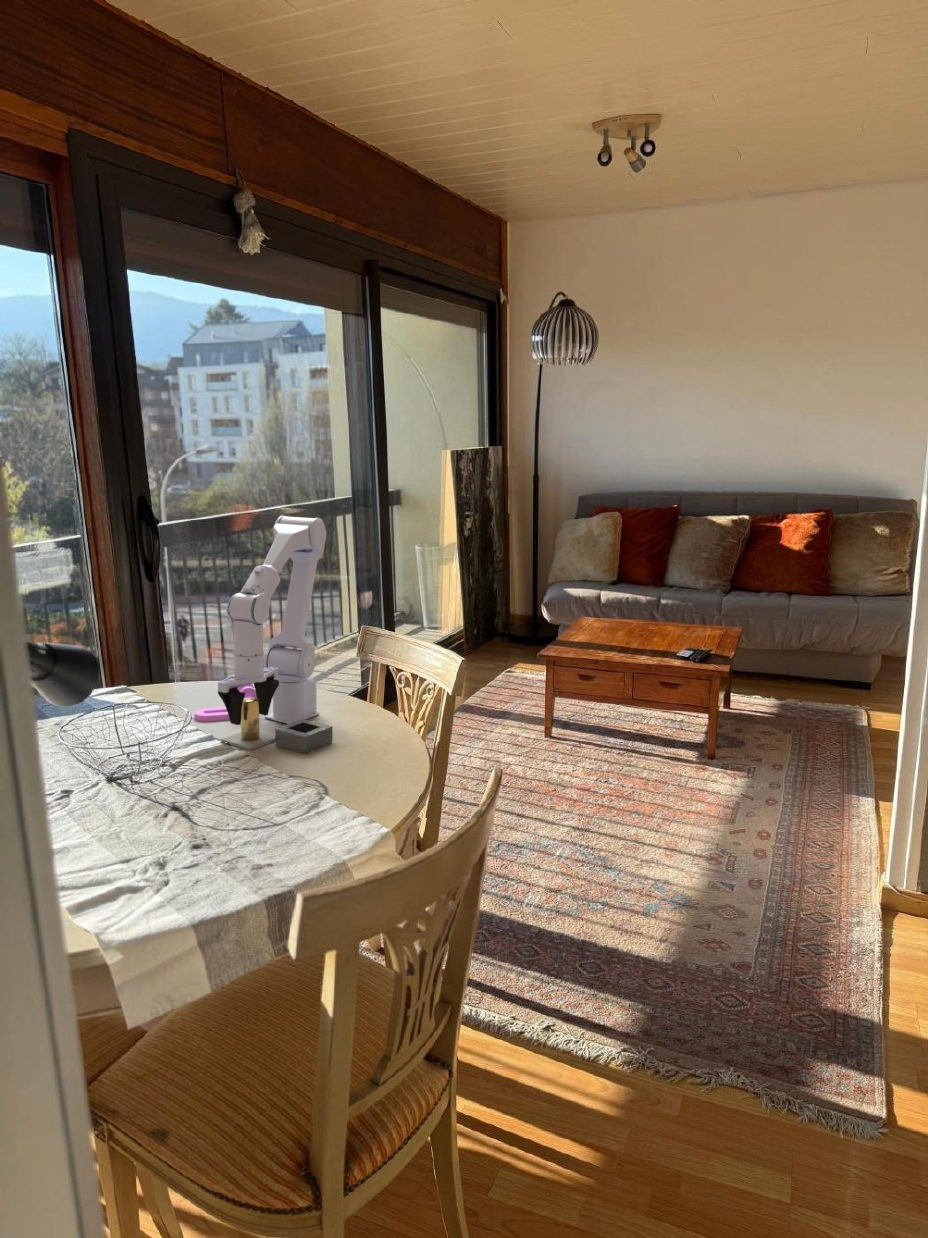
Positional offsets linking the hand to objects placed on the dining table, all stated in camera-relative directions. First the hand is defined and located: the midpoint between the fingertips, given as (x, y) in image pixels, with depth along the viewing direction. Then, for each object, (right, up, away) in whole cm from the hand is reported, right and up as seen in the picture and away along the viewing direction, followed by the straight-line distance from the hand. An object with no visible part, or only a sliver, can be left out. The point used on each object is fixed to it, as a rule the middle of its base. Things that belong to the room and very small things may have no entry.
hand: (249, 719), depth 175 cm
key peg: (0, -4, +1) cm, 4 cm away
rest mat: (0, -5, +1) cm, 5 cm away
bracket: (-9, -2, +16) cm, 19 cm away
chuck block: (+11, -5, 0) cm, 12 cm away
